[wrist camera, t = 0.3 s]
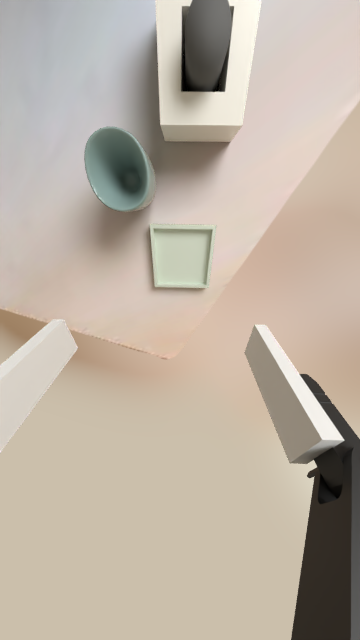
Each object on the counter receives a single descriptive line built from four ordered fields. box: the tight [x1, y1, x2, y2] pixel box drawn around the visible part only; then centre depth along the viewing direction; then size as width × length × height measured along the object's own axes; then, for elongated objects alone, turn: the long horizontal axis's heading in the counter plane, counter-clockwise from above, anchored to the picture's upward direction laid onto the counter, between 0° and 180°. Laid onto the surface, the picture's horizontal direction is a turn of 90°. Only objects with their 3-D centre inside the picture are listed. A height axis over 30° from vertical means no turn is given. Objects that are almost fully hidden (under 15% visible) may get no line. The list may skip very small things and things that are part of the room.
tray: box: [150, 224, 216, 288], centre depth 34 cm, size 12×12×2 cm
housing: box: [155, 0, 262, 142], centre depth 19 cm, size 10×10×6 cm
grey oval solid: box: [185, 0, 232, 92], centre depth 17 cm, size 4×4×6 cm
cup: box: [84, 127, 156, 212], centre depth 23 cm, size 8×8×10 cm
